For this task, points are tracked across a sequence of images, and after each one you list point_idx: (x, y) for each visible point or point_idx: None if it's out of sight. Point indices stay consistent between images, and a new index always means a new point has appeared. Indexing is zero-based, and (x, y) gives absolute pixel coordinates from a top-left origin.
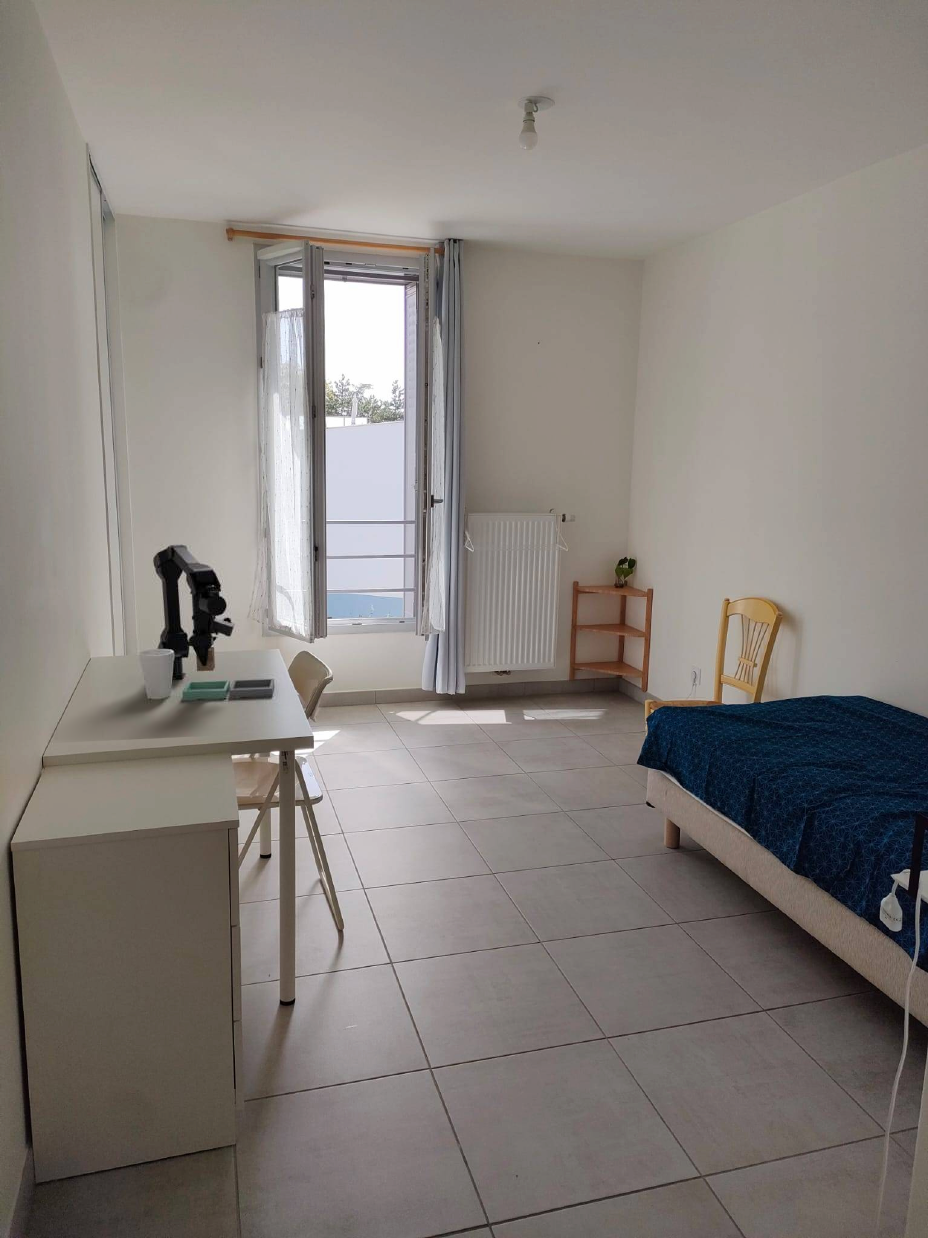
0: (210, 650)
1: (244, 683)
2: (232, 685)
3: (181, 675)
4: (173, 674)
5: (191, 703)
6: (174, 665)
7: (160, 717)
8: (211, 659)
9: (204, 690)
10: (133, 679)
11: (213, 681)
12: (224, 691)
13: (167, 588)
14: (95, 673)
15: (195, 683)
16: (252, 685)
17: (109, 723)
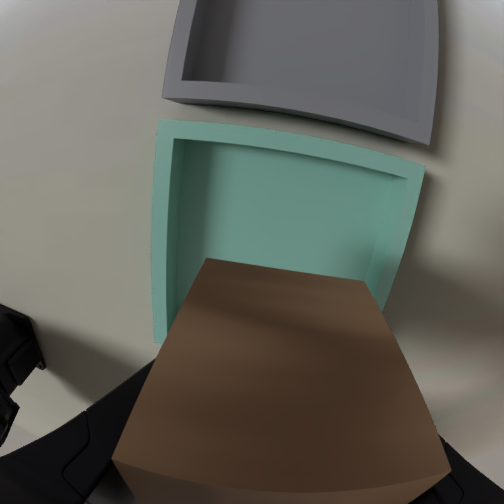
0: (434, 483)
1: (195, 36)
2: (316, 105)
3: (12, 321)
4: (30, 352)
5: (408, 314)
6: (11, 367)
7: (485, 373)
8: (398, 369)
9: (380, 282)
10: (54, 408)
11: (164, 223)
12: (421, 173)
13: None
14: (35, 432)
15: (169, 313)
16: (206, 3)
17: (449, 440)
